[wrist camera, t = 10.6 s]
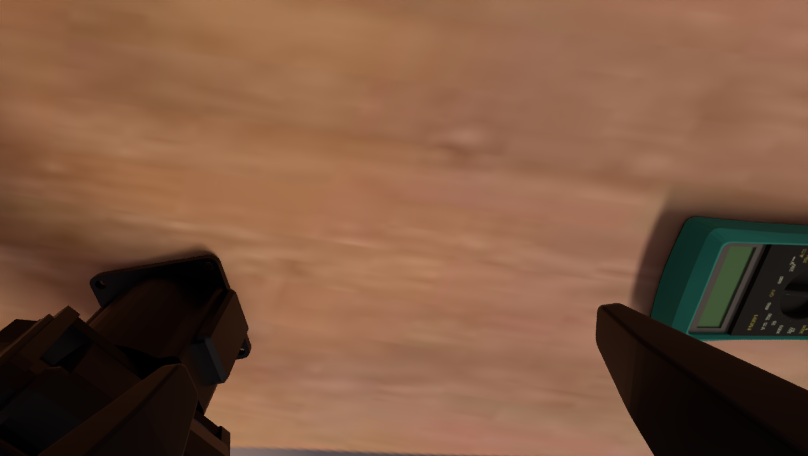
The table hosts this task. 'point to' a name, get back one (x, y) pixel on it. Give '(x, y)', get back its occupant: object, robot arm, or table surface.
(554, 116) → the table surface
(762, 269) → the digital multimeter
